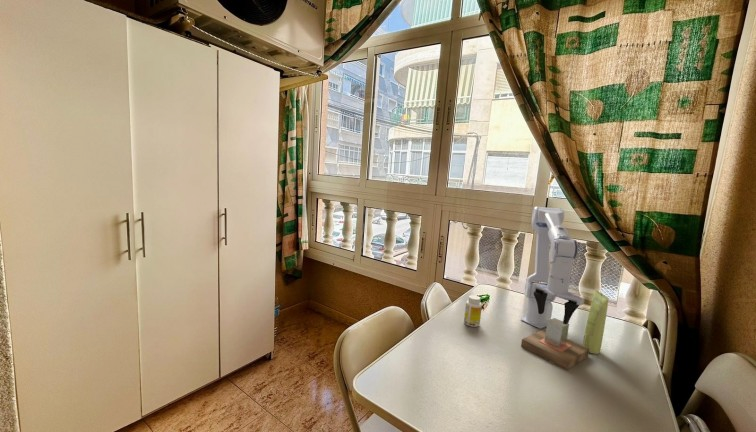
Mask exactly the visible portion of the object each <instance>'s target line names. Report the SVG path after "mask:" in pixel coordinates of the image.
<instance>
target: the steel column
mask: <svg viewBox="0 0 756 432" xmlns="http://www.w3.org/2000/svg"><path fill="white" fill-rule="evenodd" d="M569 327H570V323H568V324H563V320H561V319H558V318H555V317H554V318H551V320H549V321H547V326H546V329H545V330H546V334H545V340H544V342H546V343H548V344H550V345H552V346H554V347H557V348H561V347H563V346H565V345H566V341H567V339H568V334H569Z"/></svg>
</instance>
